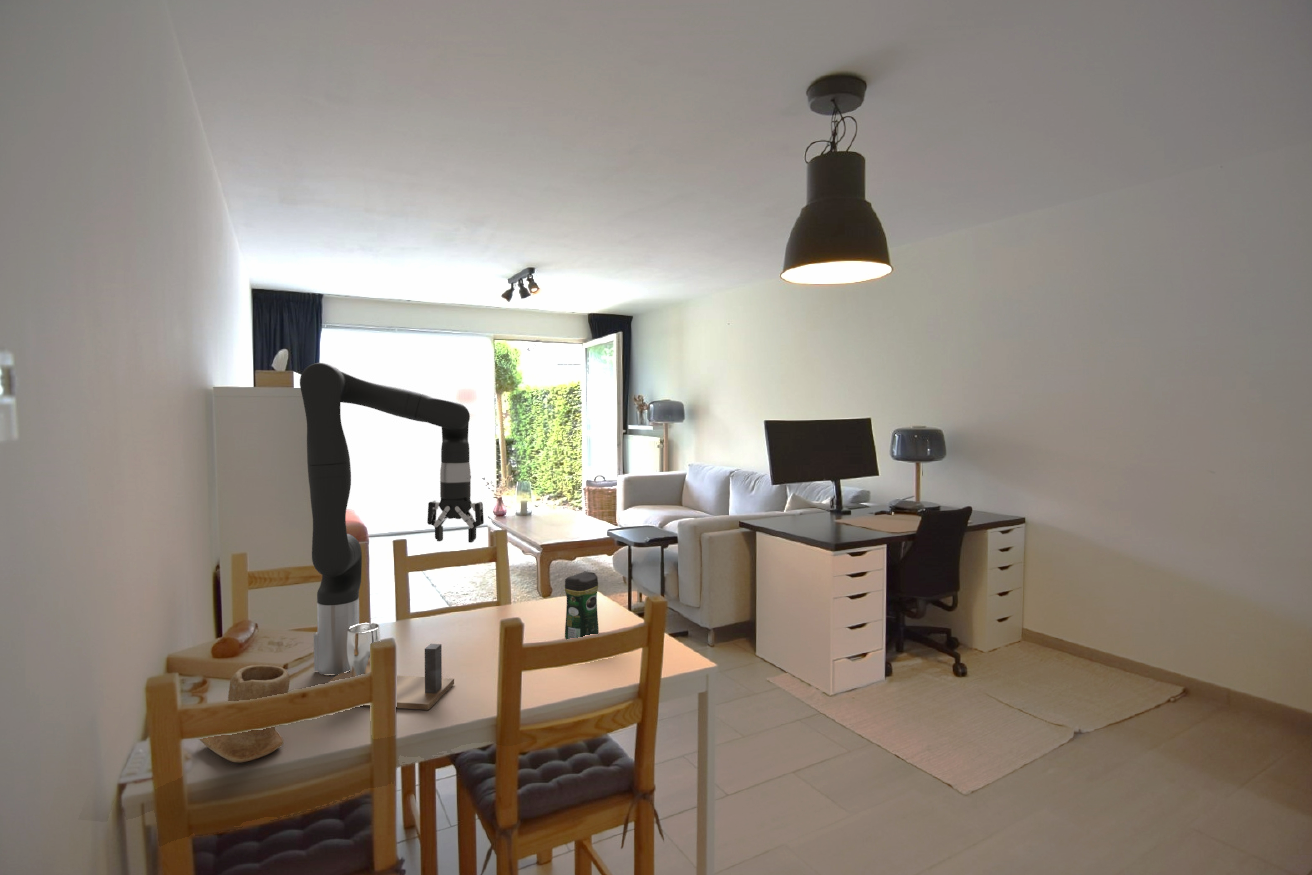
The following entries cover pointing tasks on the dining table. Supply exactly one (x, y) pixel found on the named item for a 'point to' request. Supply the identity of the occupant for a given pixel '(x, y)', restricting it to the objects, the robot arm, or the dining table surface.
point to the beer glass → (361, 646)
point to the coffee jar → (581, 605)
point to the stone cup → (246, 687)
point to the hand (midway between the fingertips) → (455, 541)
